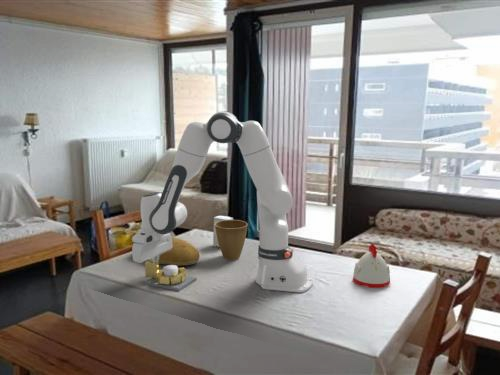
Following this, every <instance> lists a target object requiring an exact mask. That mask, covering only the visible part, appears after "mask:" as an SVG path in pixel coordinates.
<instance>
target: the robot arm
mask: <svg viewBox="0 0 500 375" xmlns="http://www.w3.org/2000/svg"><path fill="white" fill-rule="evenodd" d="M215 142H216V143H218V144H231V143H236V144H237V146H238V148H239V149H240V150H239V151H240V153H241V155H242V158H243V161H244V164H245V165H246V168H247V172H248V174H249V175H250V178H251V180H252V182H253V185H254V186H255V188H256V203H257V213H258V214H257V215H258V224H259V244H258V248H257V250H258V251H257V255H258V265H257V266H258V267H257V273H256V277H255V280H254V281H255V283H256V284H257V285H259V286H260V287H261V289H263V290H270V291H279V292H282V291H283V292H292V293H305V292H306V291H308V290H309V289H310V288H312V286H313V285H314V279H313V278H312V277H309V276H308V273H307V272H308V271H307V268H306V266H305V265H304V263H301V262H300V261H299V260H298V259H297V258H296V257H294V256H293V254H294V253H293V252H294V249H295V248H294V247H292V248H291V247H290V246H289V225H288V220H287V214H288V213H289V212H291V210H292V208H293V205H294V197H293V195H292V193H291V191H290V188H289V186H288V183H287V182H286V180H285V178H284V174H283V173H282V171H281V169H280V167H279V165H278V163H277V159H276V157H275V154H274V151H273V149H272V146H271V144H270V141H269V139H268V136H267V135H266V132H265V130H264V129H263V127H262V125H261V123H259V121H256V120H247V121H243V122H242V121H239V120H238V117H237V116H236V115H235V114H234V113H233V112H230V111H229V110H228V111H226V110H224V111H223V110H221V111H217V112H216V113H214V114H212V116H211V117H210V118H209V120H208V121H207V122H206V123H203V122H199V121H193V122H190V123H188V125H187V126H186V127H185V129H184V131H183V132H182V136H181V137H180V140H179V142H178V146H177V150H176V154H175V157H174V160H173V164H172V166H171V169H170V173H169V175H168V177H167V180H166V182H165V184H164V187H163V190H162V192H159V191H158V192H156V191H155V192H151V193H147V194H145V195H143V196H142V197H141V200H140V217H141V218H140V219H141V225H140V229H139V230H138V231H137V232H136V233H135V234H134V235H133V236H132V237H131V240H132V250H131V252H132V254H131V255H132V260H133V262H135V263H138V264H142V263H143V262H144V263H145V262H147V261H146V260H149V261H151V262H158V260H159V255H160V254H162V253H165V252H167V251H169V250H171V249H172V247H173V245H172V237H173V236H172V235H171V232H173V231H174V229H176V228H177V227H179V226H180V225H181V224H183V223H184V222H185V221H186V220H187V218H188V216H189V215H188V209H187V207H186V205H185V204H184V203H182V202H181V201H180V197H181V195H182V192H183V189H184V188H185V186H186V185H187V184H188V183H189V182H190V181H191V180H192V179H193V178H194V177H195V176H197V175H198V174H199V173H200V172H201V171H202V168H203V167H204V164H205V163H206V159H207V156H208V153H209V150H210V148H211V145H212V144H213V143H215Z"/></svg>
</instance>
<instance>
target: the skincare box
mask: <svg viewBox="0 0 500 375" xmlns="http://www.w3.org/2000/svg"><path fill="white" fill-rule="evenodd" d="M223 220H234V217H231V216H226V215H217V216H214V217H213V235H212V236H213V241H212V246H213V247H216V246H217V248H220V246H219V243H218V239H217V235H216V229H215V223H217V222H219V221H223Z"/></svg>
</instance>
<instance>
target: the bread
mask: <svg viewBox="0 0 500 375" xmlns="http://www.w3.org/2000/svg"><path fill="white" fill-rule="evenodd" d="M171 237H172V245H173V247H172V249H171V250H169V251H167V252H165V253H162V254H160V255H159V260H158V262H159V265H160V264H161V265H164V266H168V265H176V266H178V267H181V266H190V265H194V264H196V263H197V262H198V261H199V260H200V251H199V250H198V248H196V247H195V246H194V245H193V244H192V243H190V242H187V241H186V240H184V239H182V238H178V237H174V236H171ZM147 261H149V260H146V261H145V262H147Z"/></svg>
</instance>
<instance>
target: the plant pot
mask: <svg viewBox="0 0 500 375" xmlns="http://www.w3.org/2000/svg"><path fill="white" fill-rule="evenodd" d="M215 229H216V235H217V239H218V243H219V246H220V247H219V250H220V252H221V255H222V257H223V259H225V260H230V261H232V260H233V261H235V260H238V259H239V258H240V257H241V254H242V252H243V248H244V245H245V242H246V238H247V237H246V236H247V232H248V223H247V222H246V221H243V220H240V219H233V220H223V221H219V222H217V223H215Z"/></svg>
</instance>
